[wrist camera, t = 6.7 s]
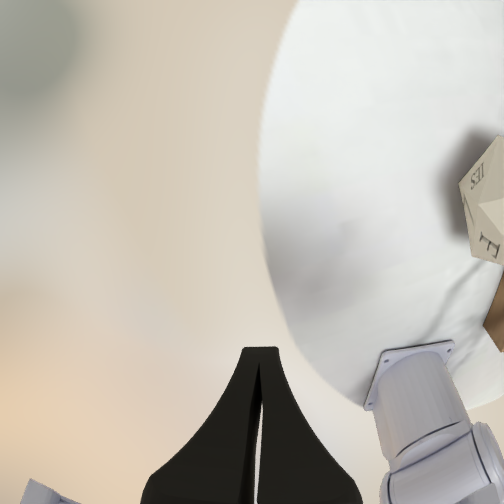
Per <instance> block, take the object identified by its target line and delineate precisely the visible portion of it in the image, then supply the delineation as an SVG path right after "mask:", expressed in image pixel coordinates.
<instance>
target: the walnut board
mask: <svg viewBox="0 0 504 504" xmlns="http://www.w3.org/2000/svg"><path fill="white" fill-rule="evenodd" d="M483 327H484V328H485V330H486V331H487V332H488V334H489V335H490V337H491V338H492V340H493V342H494V343H495V345H496V346H497V348H498V349H499V351H500V352H504V273H503V276H502V279H501V281H500V284H499V287H498V290H497V292H496V295H495V298H494V300H493V303H492V305H491V308H490V310H489V313H488V315H487V317H486V320H485V322H484V324H483Z"/></svg>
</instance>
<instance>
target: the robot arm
mask: <svg viewBox="0 0 504 504" xmlns="http://www.w3.org/2000/svg"><path fill="white" fill-rule="evenodd" d="M454 346H455V343H454V341H448V342H442V343H437V344H431V345H425V346H419V347H412V348H406V349H399V350H391V351H386V352H384V353H383V354H382V356H381V359H380V362H379V365H378V368H377V371H376V374H375V377H374V380H373V383H372V386H371V389H370V391H369V394H368V397H367V399H366V402H365V405H364V410H365V411H370V410H373V414H374V418H375V422H376V426H377V431H378V436H379V440H380V445H381V449H382V453H383V455H384V457H385V458H386V459H387V460H388V461H389V466H390V471H389V472H387V473H386V474H385V476H384V478H383V481H382V484H381V486H380V504H504V460H503V457H502V454H501V451H500V448H499V446H498V443H497V441H496V439H495V437H494V435H493V433H492V431H491V429H490V427H489V426H488V425H487V424H486V423H481V422H477V423H475V424H474V425H473V424H472V423H471V422H470V419H469V417H468V414H467V412H466V410H465V407H464V405H463V403H462V400H461V398H460V396H459V393H458V391H457V389H456V387H455V385H454V382H453V380H452V378H451V376H450V374H449V372H448V370H447V368H446V366H445V365H446V363H447V361H448V359H449V357H450V355H451V353H452V350H453V348H454ZM261 405H263V420H262V440H261V455H260V469H259V483H258V493H257V503H258V504H363V501H362V497H361V494H360V492H359V490H358V487H357V485H356V484H355V481H354V480H353V479H352V478H351V477H350V476H349V475H348V474H347V473H346V472H345V470H344V469H343V468H342V467H341V466H340V465H339V464H338V463H337V462H336V461H335V459H334V458H333V457H332V456H331V455H330V453H329V452H328V451H327V450H326V448H325V447H324V446H323V444H322V443H321V442H320V440H319V439H318V438H317V436H316V435H315V433H314V432H313V430H312V429H311V427H310V426H309V424H308V422H307V420H306V419H305V417H304V415H303V414H302V412H301V410H300V408H299V406H298V404H297V402H296V400H295V398H294V396H293V394H292V392H291V389H290V387H289V384H288V382H287V379H286V377H285V374H284V371H283V368H282V364H281V361H280V356H279V349H278V348H277V347H244V348H243V349H242V352H241V356H240V358H239V361H238V364H237V367H236V369H235V371H234V373H233V375H232V377H231V379H230V382H229V383H228V386H227V388H226V389H225V391H224V393H223V395H222V396H221V398H220V400H219V401H218V403H217V405H216V406H215V408H214V409H213V411H212V412H211V414H210V415H209V417H208V418H207V419H206V421H205V422H204V423H203V425H202V426H201V427H200V428H199V430H198V431H197V432H196V433H195V434H194V436H193V437H192V438H191V439H190V440H189V441H188V442H187V444H186V445H185V446H184V447H183V448H182V449H181V450H180V451H179V452H178V453H177V454H175V455H174V456H173V457H172V458H171V459H170V460H169V461H168V462H167V463H166V464H164V465H163V466H162V467H161V468H160V469H158V470H157V471H156V472H155V473H153V474H152V475H151V476H150V477H149V479H148V481H147V483H146V486H145V488H144V490H143V493H142V498H141V503H140V504H254V487H255V454H256V443H257V436H258V429H259V421H260V413H261ZM20 504H80V503H78V502H75V501H73V500H70V499H68V498H66V497H63V496H61V495H60V494H59V493H57V492H56V491H54V490H53V489H51V488H49V487H47V486H45V485H43V484H41V483H39V482H37V481H35V480H33V479H29V482H28V485H27V487H26V490H25V492H24V495H23V497H22V500H21V503H20Z"/></svg>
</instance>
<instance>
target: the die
mask: <svg viewBox="0 0 504 504" xmlns="http://www.w3.org/2000/svg"><path fill="white" fill-rule="evenodd" d="M458 184H459V188H460V193H461V197H462V202H463V206H464V211H465V217H466V222H467V228H468V234H469V241H470V248H471V256H472V257H476V258H480V259H483V260H487V261H490V262H494V263H497V264H501V265H504V137H502V136H499V135H498V136H497V137H496V138H495V140H494V141H493V142H492V143H491V145H490V146H489V147H488V148H487V150H486V151H485V152H484V153H483V155H482V156H481V157H480V158H479V160H478V161H477V162H476V163H475V164H474V166H473V167H472V168H471V169H470V170H469V171H468V173H467V174H466V175H465V176H464V177H463V178H462V180H461V181H460V182H459V183H458Z"/></svg>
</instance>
